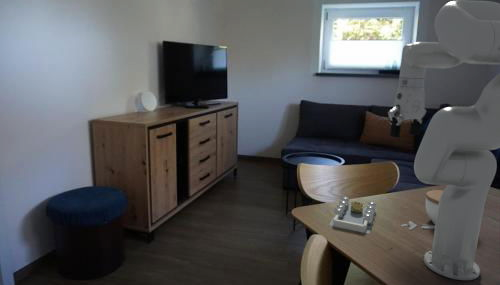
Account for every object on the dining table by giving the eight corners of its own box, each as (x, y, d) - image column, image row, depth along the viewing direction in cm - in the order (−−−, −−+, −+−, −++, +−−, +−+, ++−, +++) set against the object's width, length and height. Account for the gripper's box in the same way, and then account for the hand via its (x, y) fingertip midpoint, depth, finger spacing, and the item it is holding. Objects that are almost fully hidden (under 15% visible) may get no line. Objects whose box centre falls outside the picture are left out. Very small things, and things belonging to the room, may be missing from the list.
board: (368, 236, 107) (369, 227, 107) (328, 228, 112) (329, 219, 112) (376, 212, 125) (377, 204, 125) (341, 206, 130) (342, 198, 129)
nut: (361, 215, 120) (362, 206, 120) (349, 212, 122) (350, 204, 121) (363, 210, 124) (364, 202, 123) (351, 208, 126) (352, 200, 125)
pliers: (444, 221, 117) (420, 233, 108) (443, 226, 117) (419, 238, 108) (414, 211, 124) (390, 221, 115) (414, 215, 125) (389, 226, 116)
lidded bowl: (472, 233, 111) (478, 200, 109) (428, 229, 114) (433, 195, 111) (458, 217, 123) (463, 186, 121) (418, 213, 126) (422, 183, 123)
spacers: (370, 226, 112) (371, 217, 112) (333, 218, 117) (334, 210, 116) (375, 210, 124) (376, 202, 124) (341, 204, 129) (342, 196, 128)
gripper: (402, 84, 109) (396, 140, 113) (438, 84, 118) (431, 136, 121) (383, 83, 116) (377, 135, 120) (418, 83, 124) (412, 132, 128)
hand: (404, 135), depth 120 cm, fingers open, 9 cm apart
